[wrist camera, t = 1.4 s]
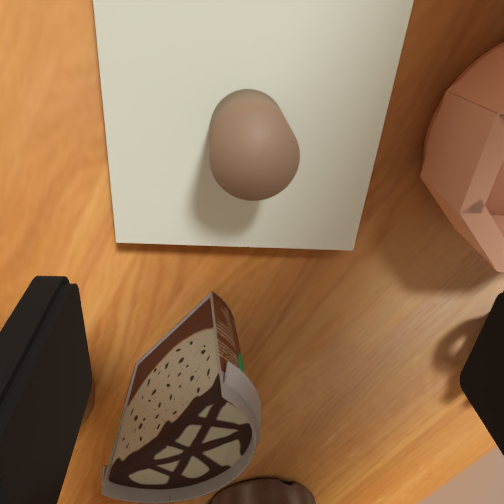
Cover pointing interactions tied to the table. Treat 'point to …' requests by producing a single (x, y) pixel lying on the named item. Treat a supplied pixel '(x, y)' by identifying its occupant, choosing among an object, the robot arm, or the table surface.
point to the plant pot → (264, 493)
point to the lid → (245, 117)
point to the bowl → (471, 155)
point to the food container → (186, 414)
